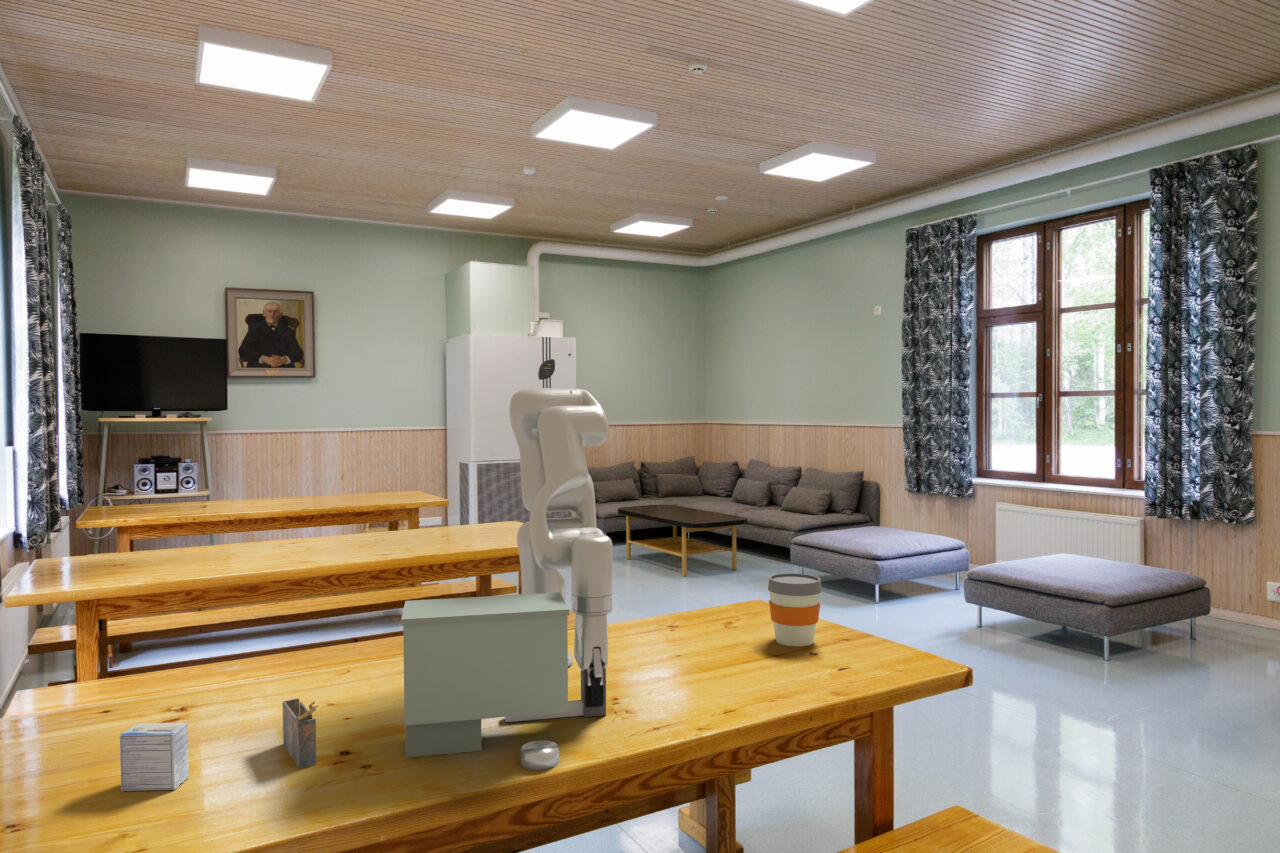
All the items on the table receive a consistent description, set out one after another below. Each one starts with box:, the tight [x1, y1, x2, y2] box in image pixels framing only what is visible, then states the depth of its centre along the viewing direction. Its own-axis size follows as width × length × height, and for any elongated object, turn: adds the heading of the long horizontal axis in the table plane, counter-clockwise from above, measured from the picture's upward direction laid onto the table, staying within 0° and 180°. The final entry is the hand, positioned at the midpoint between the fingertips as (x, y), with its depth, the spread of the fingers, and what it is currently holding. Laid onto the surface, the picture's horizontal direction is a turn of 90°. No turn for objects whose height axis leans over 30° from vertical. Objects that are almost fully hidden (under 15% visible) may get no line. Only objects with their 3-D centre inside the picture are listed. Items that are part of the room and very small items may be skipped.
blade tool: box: [504, 665, 607, 723], centre depth 150 cm, size 4×18×9 cm, turn 103°
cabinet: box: [400, 592, 570, 759], centre depth 139 cm, size 13×27×23 cm, turn 103°
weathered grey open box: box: [282, 697, 319, 769], centre depth 134 cm, size 11×3×10 cm, turn 35°
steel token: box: [520, 739, 560, 772], centre depth 131 cm, size 6×6×2 cm
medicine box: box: [119, 722, 190, 792], centre depth 123 cm, size 8×4×9 cm, turn 92°
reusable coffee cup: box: [767, 572, 822, 647], centre depth 197 cm, size 13×12×15 cm
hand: (592, 700), depth 152 cm, fingers closed on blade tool, 4 cm apart
